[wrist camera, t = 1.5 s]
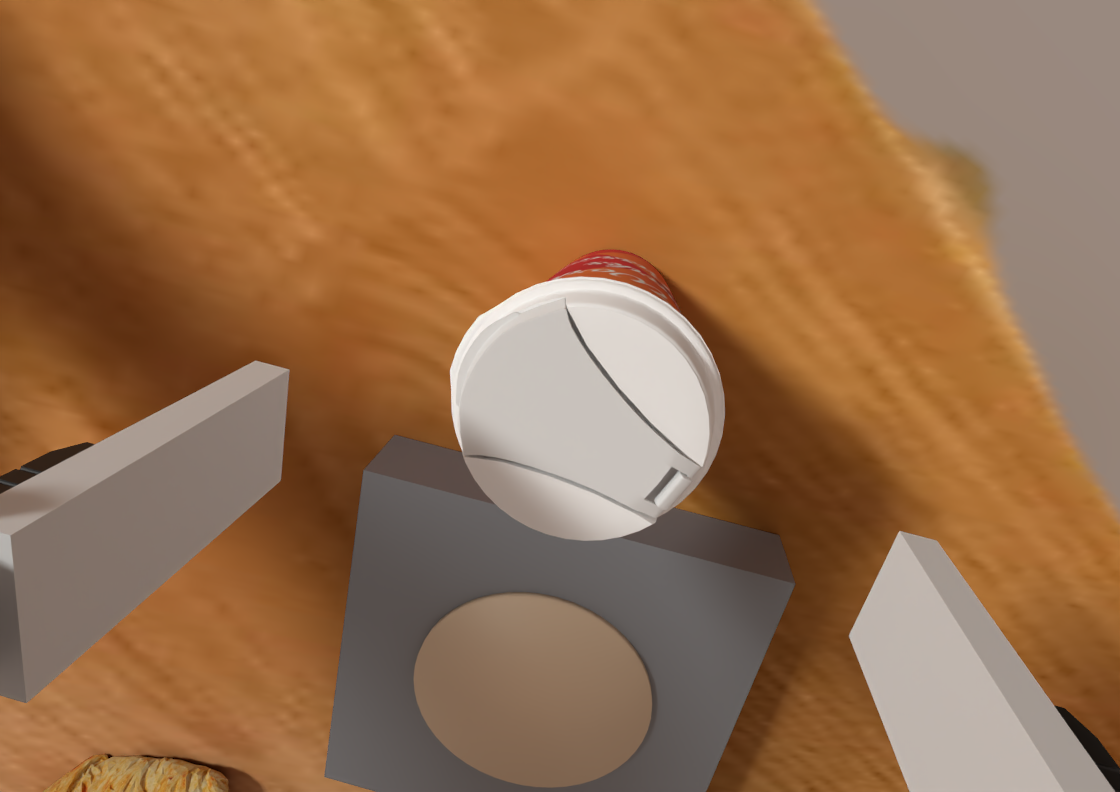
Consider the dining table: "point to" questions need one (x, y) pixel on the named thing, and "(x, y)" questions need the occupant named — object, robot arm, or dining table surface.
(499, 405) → the paper cup
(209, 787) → the croissant
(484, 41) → the dining table surface
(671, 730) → the plinth
